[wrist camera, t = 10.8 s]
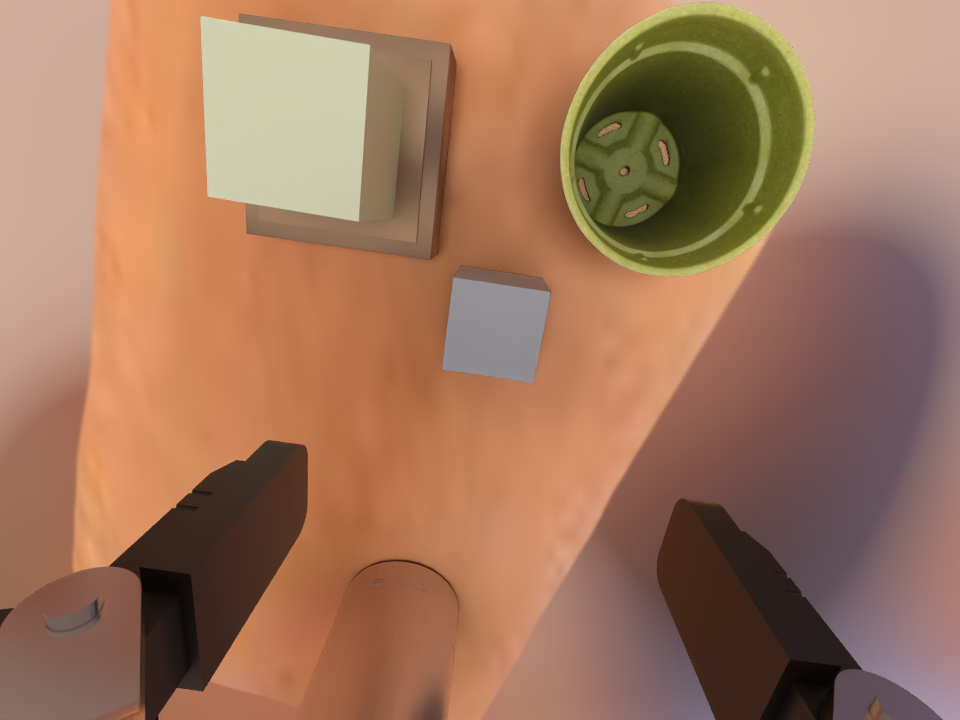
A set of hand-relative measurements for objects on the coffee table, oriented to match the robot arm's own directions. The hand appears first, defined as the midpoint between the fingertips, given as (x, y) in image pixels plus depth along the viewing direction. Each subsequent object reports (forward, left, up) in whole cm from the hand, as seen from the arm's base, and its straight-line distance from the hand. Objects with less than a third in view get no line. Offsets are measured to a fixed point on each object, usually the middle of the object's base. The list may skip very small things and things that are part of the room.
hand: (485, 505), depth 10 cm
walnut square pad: (+8, +9, -19) cm, 23 cm away
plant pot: (+9, -6, -20) cm, 22 cm away
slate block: (0, 0, -19) cm, 19 cm away
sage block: (+8, +9, -16) cm, 20 cm away
